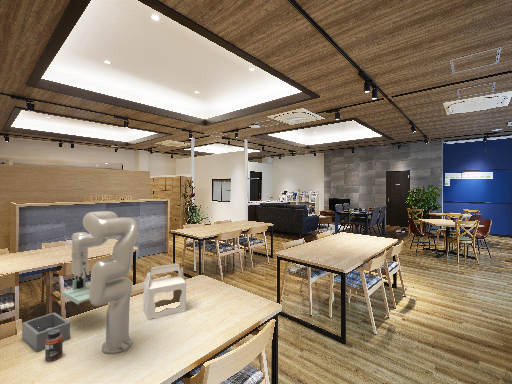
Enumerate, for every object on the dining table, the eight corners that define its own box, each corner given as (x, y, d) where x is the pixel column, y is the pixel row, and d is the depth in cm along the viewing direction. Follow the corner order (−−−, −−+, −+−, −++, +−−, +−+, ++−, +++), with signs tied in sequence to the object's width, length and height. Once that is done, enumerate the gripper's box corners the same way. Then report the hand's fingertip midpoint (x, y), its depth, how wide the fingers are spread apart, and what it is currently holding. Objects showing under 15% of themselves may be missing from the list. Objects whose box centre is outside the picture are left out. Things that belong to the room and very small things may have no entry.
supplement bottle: (60, 351, 116) (60, 326, 116) (64, 356, 112) (64, 331, 112) (43, 357, 111) (43, 331, 111) (46, 363, 107) (47, 336, 107)
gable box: (147, 320, 145) (148, 270, 144) (142, 311, 155) (143, 264, 155) (186, 310, 157) (187, 264, 157) (179, 302, 168) (180, 259, 168)
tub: (69, 338, 125) (70, 322, 125) (36, 352, 114) (36, 334, 114) (54, 327, 135) (54, 312, 135) (22, 339, 124) (22, 322, 124)
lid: (109, 295, 140) (110, 282, 140) (79, 305, 128) (79, 291, 128) (91, 287, 151) (91, 274, 151) (62, 295, 139) (62, 282, 138)
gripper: (93, 255, 143) (93, 288, 143) (80, 251, 151) (80, 282, 151) (78, 258, 136) (78, 293, 136) (65, 253, 145) (65, 286, 145)
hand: (79, 287), depth 144 cm, fingers closed on lid, 1 cm apart
